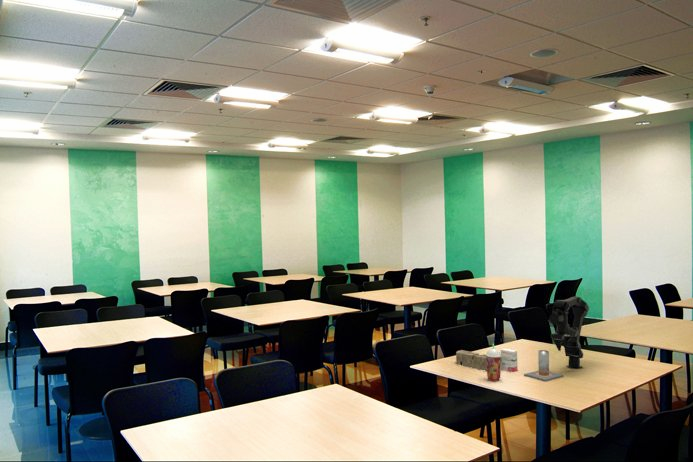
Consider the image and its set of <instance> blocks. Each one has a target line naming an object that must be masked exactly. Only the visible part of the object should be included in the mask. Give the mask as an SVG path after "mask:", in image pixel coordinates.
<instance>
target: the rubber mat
mask: <svg viewBox="0 0 693 462" xmlns="http://www.w3.org/2000/svg"><path fill="white" fill-rule="evenodd" d="M523 376H524V377H526V378H531V379H535V380H538V381H542V382H549V381H552V380H556V379H561V378H564V376H565V375H564V374H561V373H557V372H553V371H550V370H549V375H548V376H543V375H539V370H535V371H531V372H526V373H523Z"/></svg>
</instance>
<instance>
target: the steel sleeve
mask: <svg viewBox="0 0 693 462" xmlns="http://www.w3.org/2000/svg"><path fill="white" fill-rule="evenodd" d="M537 352H538V357H537V358H538V359H537V360H538V364H537V365H538V371H539V375H543V376H548V375H549V371H550V351H549V350H546V349H539V350H538V351H537Z"/></svg>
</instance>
